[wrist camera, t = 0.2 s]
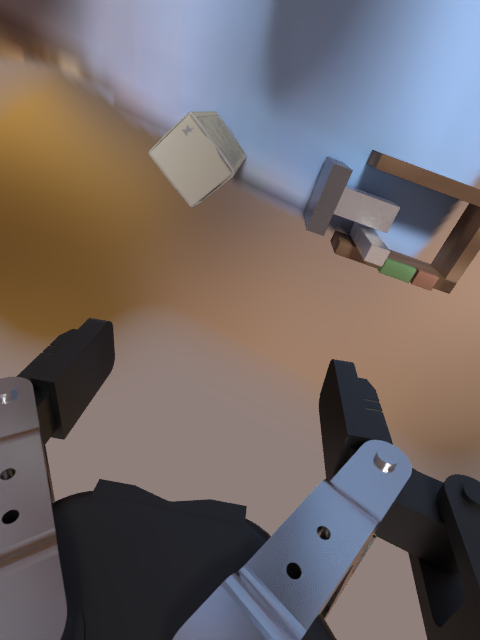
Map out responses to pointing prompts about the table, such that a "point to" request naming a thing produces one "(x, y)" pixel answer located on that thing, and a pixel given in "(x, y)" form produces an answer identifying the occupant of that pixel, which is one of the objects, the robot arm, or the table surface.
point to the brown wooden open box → (456, 253)
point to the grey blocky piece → (350, 210)
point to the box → (198, 156)
